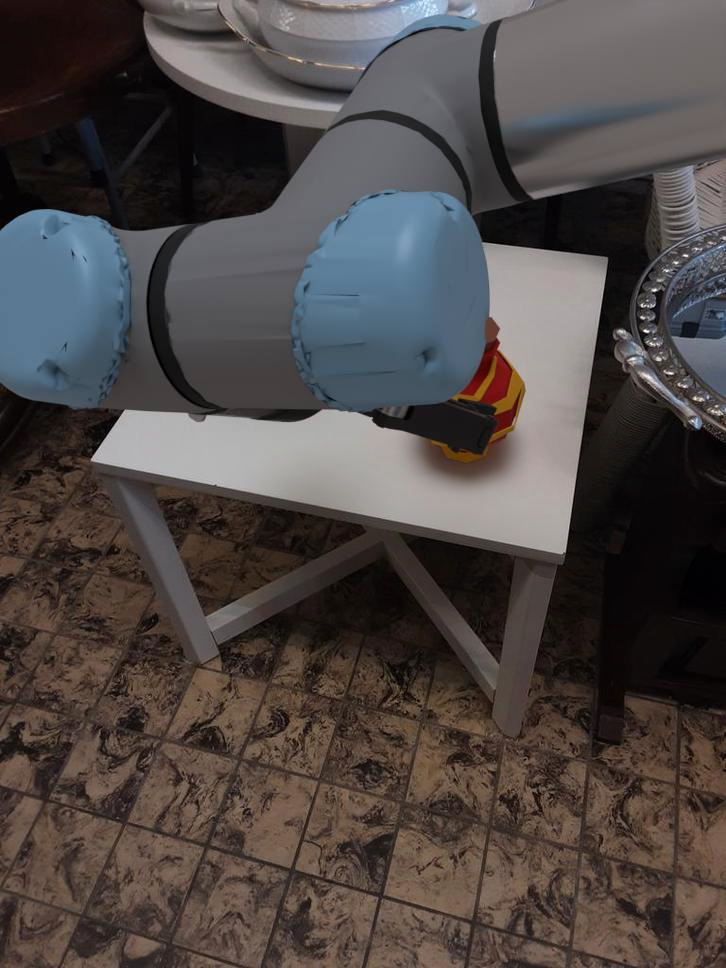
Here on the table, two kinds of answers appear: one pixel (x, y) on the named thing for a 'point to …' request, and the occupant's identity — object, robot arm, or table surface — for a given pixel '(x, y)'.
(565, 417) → the table surface
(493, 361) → the potion bottle
